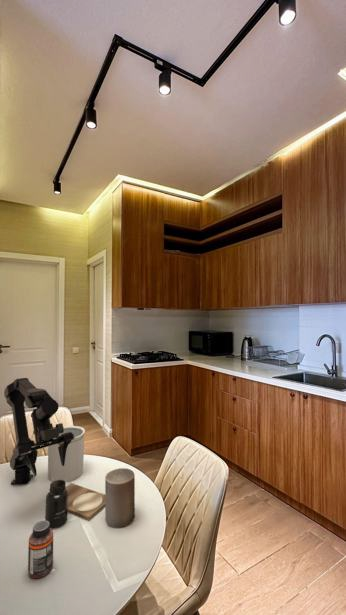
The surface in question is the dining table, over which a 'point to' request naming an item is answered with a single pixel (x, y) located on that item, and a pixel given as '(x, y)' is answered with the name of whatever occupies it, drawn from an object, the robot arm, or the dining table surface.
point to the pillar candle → (119, 497)
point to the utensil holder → (67, 457)
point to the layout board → (84, 501)
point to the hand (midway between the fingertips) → (50, 470)
